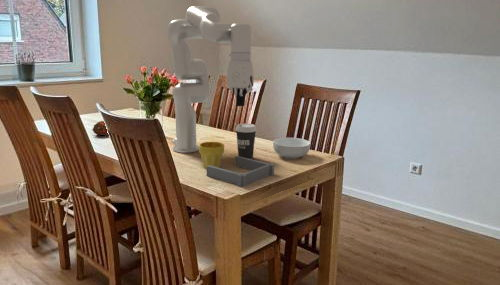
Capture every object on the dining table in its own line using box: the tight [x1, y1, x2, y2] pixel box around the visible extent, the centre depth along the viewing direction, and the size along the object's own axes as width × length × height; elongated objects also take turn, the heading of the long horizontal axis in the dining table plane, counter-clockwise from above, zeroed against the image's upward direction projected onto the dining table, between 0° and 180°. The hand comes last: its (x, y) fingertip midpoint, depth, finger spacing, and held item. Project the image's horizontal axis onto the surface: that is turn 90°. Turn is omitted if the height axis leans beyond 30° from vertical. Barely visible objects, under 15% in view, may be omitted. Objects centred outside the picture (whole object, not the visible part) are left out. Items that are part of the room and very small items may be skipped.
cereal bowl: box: [272, 137, 311, 160], centre depth 201 cm, size 17×17×7 cm
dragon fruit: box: [91, 120, 109, 136], centre depth 235 cm, size 8×8×12 cm
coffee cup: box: [235, 123, 258, 160], centre depth 196 cm, size 10×10×15 cm
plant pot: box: [198, 141, 225, 170], centre depth 183 cm, size 10×10×10 cm
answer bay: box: [206, 155, 275, 187], centre depth 174 cm, size 19×20×4 cm
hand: (240, 105), depth 169 cm, fingers closed
